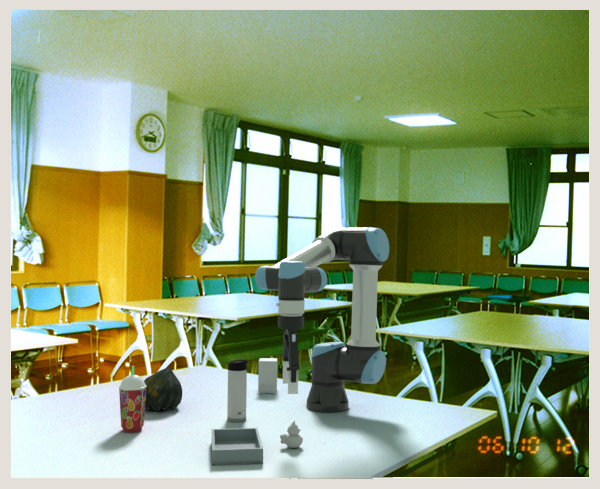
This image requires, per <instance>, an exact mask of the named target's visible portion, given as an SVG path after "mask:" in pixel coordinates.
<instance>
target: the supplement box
mask: <svg viewBox="0 0 600 489" xmlns="http://www.w3.org/2000/svg"><path fill="white" fill-rule="evenodd" d="M257 375H258V379H257V380H258V381H257V384H258V385H257V387H258V388H257V393H258V394H277V390H278V357H277V358H275V357H272V358H271V357H270V358H269V357H262V358H261V357H260V358H259V359H258V374H257Z"/></svg>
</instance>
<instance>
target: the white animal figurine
mask: <svg viewBox="0 0 600 489" xmlns="http://www.w3.org/2000/svg"><path fill="white" fill-rule="evenodd" d="M286 432H287V433H288V434H286V433H281V434H280V435H279V438H280V443H281V444H283V445H284V444H285V446H287V447H288V448H290V449H297V448H299V447H301V445H303V442H304V439H303V437H302V436H301V435H300V432H301V429H300V428H299V426H298V425H297V424H296V420H294V421H292V423H290V425H289V426H288V427H287V430H286Z"/></svg>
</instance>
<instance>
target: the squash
mask: <svg viewBox="0 0 600 489" xmlns="http://www.w3.org/2000/svg"><path fill="white" fill-rule="evenodd" d="M143 380H144V382H145V385H147V387H146V399H145V411H146V410H147V411H151V412H153V411H155V412H157V411H159V410H167V409H170V410H171V409H175V408H177V407H178V406H180V404H181V403H182V399H183V387H182V384H181V382H180V381H181V380H179V378H178V377H177V375H176V374H175V373H174V372H173V370H172V369H171V367H165V368H163V369H160V370H158V371H157V372H155V373H153V374H151V375H150V376H148V377H146V378H145V379H143Z"/></svg>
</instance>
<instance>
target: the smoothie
mask: <svg viewBox="0 0 600 489" xmlns="http://www.w3.org/2000/svg"><path fill="white" fill-rule="evenodd" d="M144 380H145V379H143V377H142V376H140V375H138V374H135V365H132V366H131V374H129V375H127V376H125V377H124V378H123V380H121V382H120V385H119V386H118V390H119V410H120V411H119V413H120V426H121V428H122V431H123V432H124V433H127V432H128V434H129V433H130V434H131V433H133V432H134V433H137V432H138V433H139V432H140V431H142V429H143V427H144V424H145V411H146V409H145V399H146V387H147V385H145V382H144Z"/></svg>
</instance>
